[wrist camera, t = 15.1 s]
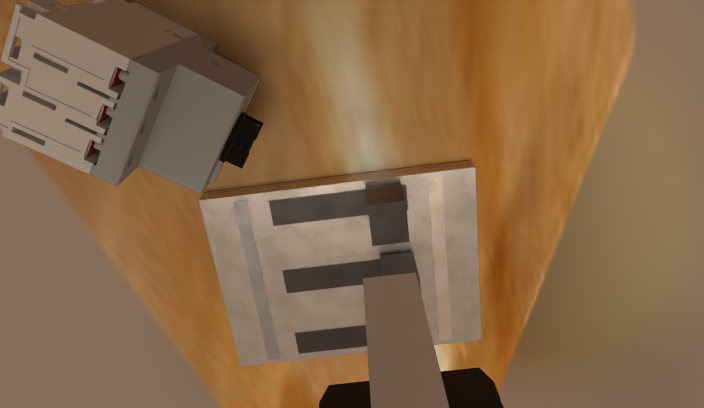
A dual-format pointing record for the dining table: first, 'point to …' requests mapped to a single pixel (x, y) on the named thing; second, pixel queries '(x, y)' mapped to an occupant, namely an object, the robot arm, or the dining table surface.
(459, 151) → the dining table surface
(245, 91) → the circuit breaker
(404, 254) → the toggle
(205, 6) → the dining table surface
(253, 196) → the breaker panel
